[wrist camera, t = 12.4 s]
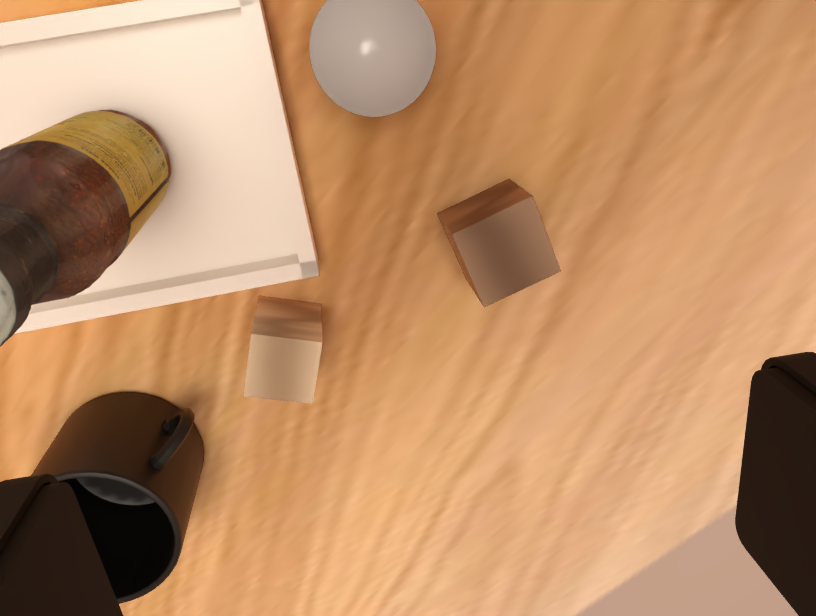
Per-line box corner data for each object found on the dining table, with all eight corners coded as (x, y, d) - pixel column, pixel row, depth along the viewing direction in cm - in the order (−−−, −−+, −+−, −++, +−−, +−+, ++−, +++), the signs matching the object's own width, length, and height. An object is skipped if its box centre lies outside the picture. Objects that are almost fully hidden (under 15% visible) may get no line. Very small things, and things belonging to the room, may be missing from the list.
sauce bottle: (60, 97, 36) (-198, 156, 18) (180, 119, 37) (54, 195, 19) (58, 213, 38) (-173, 372, 20) (171, 230, 39) (51, 395, 21)
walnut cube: (508, 178, 42) (532, 195, 37) (534, 246, 44) (560, 271, 39) (436, 213, 42) (452, 234, 37) (466, 279, 44) (484, 307, 39)
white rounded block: (406, -17, 37) (426, -30, 30) (421, 94, 39) (443, 105, 33) (299, 0, 36) (296, -9, 30) (321, 112, 39) (323, 126, 32)
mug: (258, 419, 46) (246, 504, 37) (146, 528, 48) (112, 631, 39) (144, 336, 42) (103, 408, 34) (29, 457, 44) (-36, 553, 36)
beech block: (321, 303, 43) (322, 342, 38) (312, 358, 45) (312, 403, 39) (258, 295, 42) (251, 333, 37) (251, 351, 44) (243, 396, 38)
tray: (258, -14, 36) (255, -18, 33) (319, 262, 42) (319, 275, 40) (-124, 47, 34) (-155, 47, 32) (-3, 323, 41) (-21, 340, 38)
